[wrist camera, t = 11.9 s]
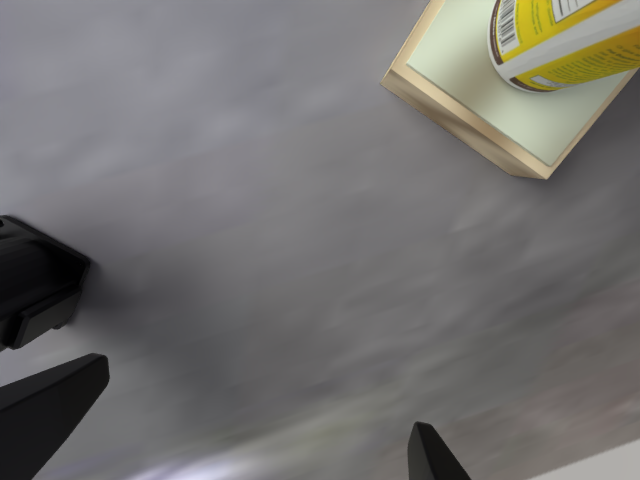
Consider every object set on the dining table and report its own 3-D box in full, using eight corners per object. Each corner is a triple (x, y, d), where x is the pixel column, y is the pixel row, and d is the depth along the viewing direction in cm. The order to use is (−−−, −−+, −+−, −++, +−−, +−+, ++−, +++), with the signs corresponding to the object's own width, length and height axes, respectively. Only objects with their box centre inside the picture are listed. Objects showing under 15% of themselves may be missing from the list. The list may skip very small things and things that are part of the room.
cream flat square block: (379, 83, 17) (392, 67, 14) (494, -105, 15) (542, -180, 12) (510, 175, 19) (550, 180, 15) (637, 15, 16) (718, -21, 13)
